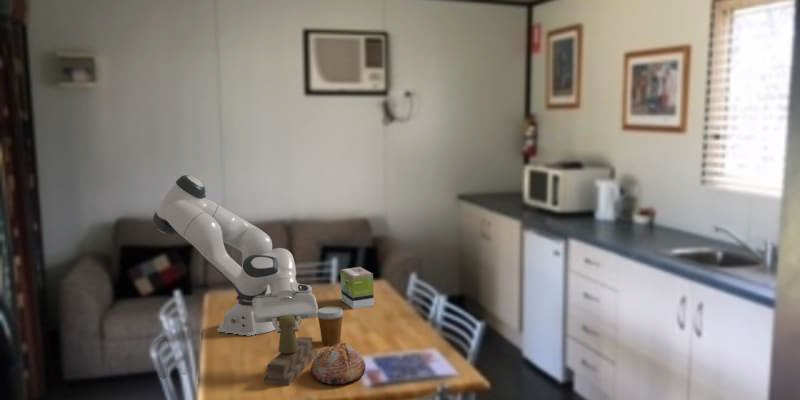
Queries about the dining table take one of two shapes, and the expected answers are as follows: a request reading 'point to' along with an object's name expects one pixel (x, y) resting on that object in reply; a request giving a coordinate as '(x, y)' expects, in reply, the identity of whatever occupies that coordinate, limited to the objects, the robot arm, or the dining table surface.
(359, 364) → the bread
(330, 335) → the disposable coffee cup
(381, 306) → the dining table surface
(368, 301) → the tea box
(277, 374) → the ridge stand
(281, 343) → the olive pawn
